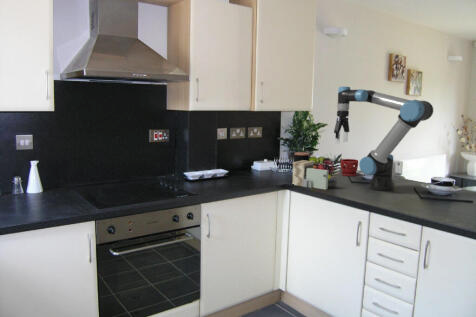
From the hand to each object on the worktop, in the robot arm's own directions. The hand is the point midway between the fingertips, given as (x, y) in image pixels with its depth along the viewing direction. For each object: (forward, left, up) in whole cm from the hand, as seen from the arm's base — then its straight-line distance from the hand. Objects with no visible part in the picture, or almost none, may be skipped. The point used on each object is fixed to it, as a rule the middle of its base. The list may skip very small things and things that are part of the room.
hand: (341, 142), depth 262 cm
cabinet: (+20, +14, -29) cm, 38 cm away
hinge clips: (+12, +19, -29) cm, 36 cm away
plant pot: (+9, -40, -29) cm, 50 cm away
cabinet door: (+8, +19, -29) cm, 35 cm away
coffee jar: (+32, -6, -29) cm, 44 cm away
